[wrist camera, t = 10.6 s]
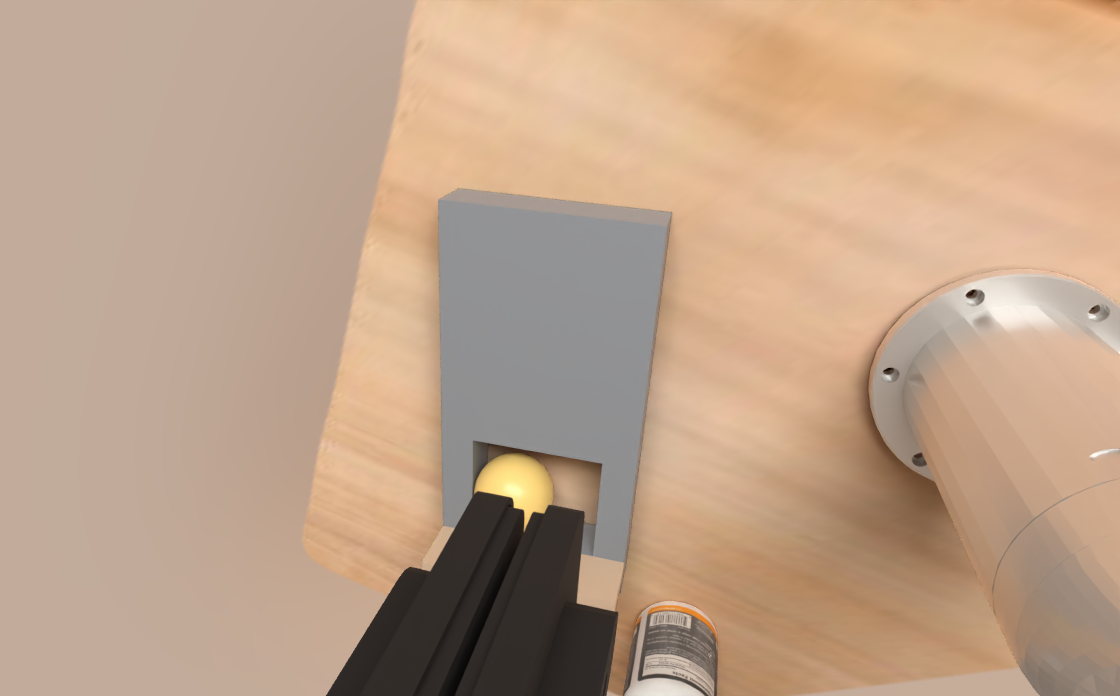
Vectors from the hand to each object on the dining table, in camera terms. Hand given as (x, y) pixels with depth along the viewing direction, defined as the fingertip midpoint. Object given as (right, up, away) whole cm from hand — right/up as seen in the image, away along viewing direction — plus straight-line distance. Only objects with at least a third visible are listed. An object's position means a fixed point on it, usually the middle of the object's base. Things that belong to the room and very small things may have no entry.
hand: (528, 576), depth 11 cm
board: (0, +1, +32) cm, 32 cm away
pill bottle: (+9, -16, +38) cm, 42 cm away
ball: (-2, -6, +33) cm, 34 cm away
